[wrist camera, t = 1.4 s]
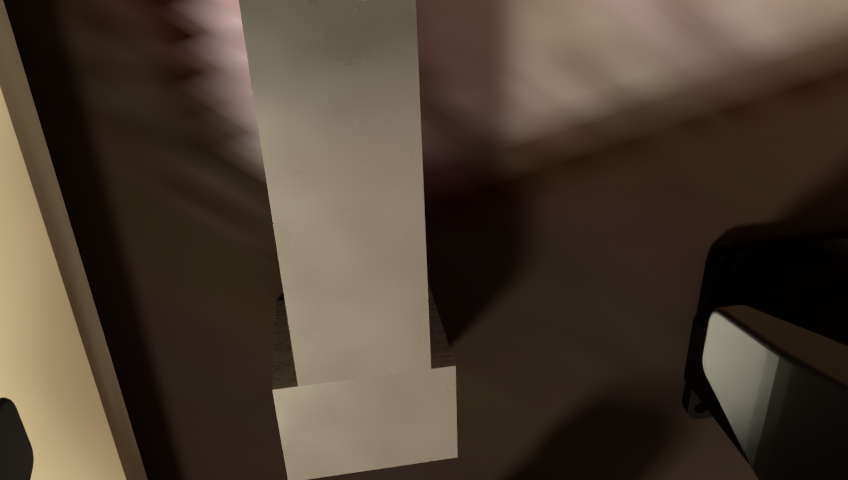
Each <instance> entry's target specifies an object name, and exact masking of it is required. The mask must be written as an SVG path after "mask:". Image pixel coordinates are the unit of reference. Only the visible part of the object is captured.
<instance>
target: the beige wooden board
mask: <svg viewBox="0 0 848 480" xmlns="http://www.w3.org/2000/svg"><path fill="white" fill-rule="evenodd" d="M2 397H5V398H8V399H10V400H12V402H13V403H14V404H15V406H16V408H17V410H18V413H19V415H20V418H21V420H22V423H23V425H24V428H25V430H26V433H27V436H28V438H29V441H30V443H31V446H32V449H33V457H34V462H33V470H32V474H31V479H30V480H148V479H147V476H146V473H145V469H144V466H143V463H142V459H141V456H140V453H139V449H138V446H137V443H136V439H135V436H134V433H133V429H132V426H131V423H130V419H129V416H128V413H127V409H126V406H125V403H124V400H123V396H122V393H121V390H120V386H119V383H118V380H117V376H116V373H115V370H114V366H113V363H112V360H111V356H110V353H109V350H108V346H107V343H106V340H105V336H104V333H103V330H102V326H101V323H100V320H99V317H98V313H97V310H96V307H95V303H94V300H93V297H92V293H91V290H90V287H89V283H88V280H87V277H86V273H85V270H84V267H83V263H82V260H81V257H80V253H79V250H78V247H77V244H76V240H75V237H74V234H73V230H72V227H71V224H70V220H69V217H68V214H67V210H66V207H65V204H64V200H63V197H62V194H61V190H60V187H59V184H58V180H57V177H56V174H55V171H54V167H53V164H52V161H51V157H50V154H49V151H48V147H47V144H46V141H45V137H44V134H43V131H42V127H41V124H40V121H39V117H38V114H37V111H36V107H35V104H34V101H33V97H32V94H31V91H30V88H29V84H28V81H27V78H26V74H25V71H24V68H23V64H22V61H21V58H20V54H19V51H18V48H17V44H16V41H15V38H14V34H13V31H12V28H11V24H10V21H9V18H8V15H7V11H6V8H5V5H4V1H3V0H0V398H2Z"/></svg>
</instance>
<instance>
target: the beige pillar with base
mask: <svg viewBox="0 0 848 480" xmlns="http://www.w3.org/2000/svg"><path fill="white" fill-rule="evenodd" d="M239 4H240V11H241V17H242V24H243V30H244V37H245V44H246V50H247V57H248V63H249V70H250V76H251V83H252V89H253V96H254V102H255V109H256V115H257V122H258V129H259V135H260V142H261V148H262V155H263V161H264V168H265V174H266V181H267V187H268V194H269V200H270V207H271V214H272V220H273V227H274V233H275V240H276V246H277V253H278V259H279V266H280V272H281V279H282V286H283V292H284V299H283V300H276V317H275V340H274V362H273V384H272V391H273V397H274V403H275V408H276V414H277V420H278V426H279V431H280V437H281V443H282V448H283V454H284V460H285V466H286V471H287V477H288V480H307V479H313V478H320V477H327V476H334V475H341V474H347V473H354V472H361V471H368V470H375V469H381V468H388V467H395V466H402V465H408V464H415V463H422V462H429V461H436V460H442V459H449V458H456V457H457V412H456V366H455V363H454V360H453V356H452V353H451V350H450V347H449V344H448V341H447V338H446V335H445V332H444V329H443V326H442V322H441V319H440V316H439V313H438V310H437V307H436V304H435V301H434V298H433V295H432V292H431V288H430V285H429V283H428V280H427V256H426V231H425V207H424V183H423V159H422V135H421V111H420V87H419V63H418V38H417V14H416V0H239Z"/></svg>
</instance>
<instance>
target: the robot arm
mask: <svg viewBox="0 0 848 480" xmlns="http://www.w3.org/2000/svg"><path fill="white" fill-rule="evenodd" d="M727 259H729V260H728V262H727V263H726V264H725V265H724V266H722V267H720V266H721V264H722V263H723V262H724V261H725V260H727ZM684 379H685V381H686V382H685V388H684V394H683V400H682V405H683V407H684V408H685V410H686V411H687V413H688V414H689V415H690V417H692V418H694V419H701V418H708V417H714V419H715V420H716V421H717V423H718V424H719V425H720V427H721V428H722V429H723V430H724V432H725V433H726V434H727V436H728V437H729V438H730V440H731V441H732V442H733V444H734V445H735V446H736V447H737V449H738V450H739V451H740V453H741V454H742V455H743V457H744V458H745V459H746V460H747V462H748V463H749V464H750V466H751V468H752V469H753V471H754V473H755V474H756V476H757V478H758V479H759V480H848V231H844V232H836V233H827V234H818V235H810V236H801V237H792V238H784V239H775V240H766V241H758V242H749V243H741V244H732V245H724V246H720V247H717V248H716V249H714V250H713V251H712V252H711V253H710V254H709V255H708V257H707V260H706V264H705V270H704V276H703V281H702V287H701V293H700V299H699V305H698V311H697V314H696V315H695V317H694V319H693V325H692V331H691V337H690V343H689V349H688V355H687V361H686V367H685V373H684ZM700 402H701V403H700ZM698 403H699V404H698ZM697 404H698V405H697ZM33 462H34V457H33V449H32V446H31V443H30V441H29V438H28V436H27V433H26V430H25V428H24V425H23V423H22V420H21V418H20V415H19V413H18V410H17V408H16V406H15V404H14V403H13V402H12V400H10V399H8V398H5V397H2V398H0V480H30V479H31V474H32V470H33Z"/></svg>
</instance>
